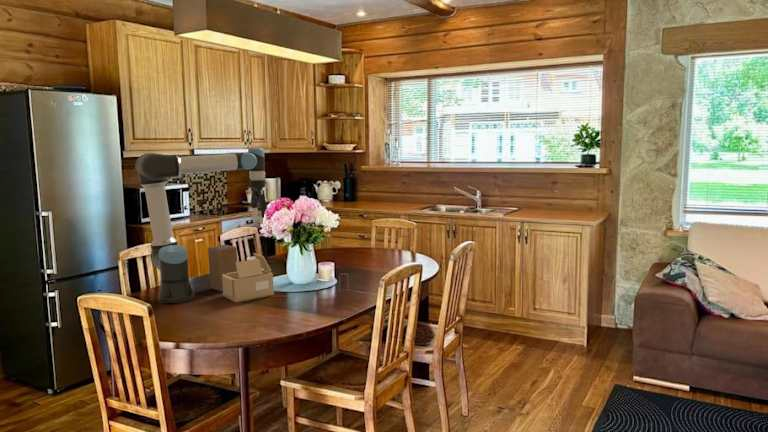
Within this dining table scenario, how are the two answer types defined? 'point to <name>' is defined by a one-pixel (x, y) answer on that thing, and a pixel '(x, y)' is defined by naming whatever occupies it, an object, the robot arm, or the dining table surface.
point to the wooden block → (221, 264)
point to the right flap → (262, 262)
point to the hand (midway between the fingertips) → (259, 222)
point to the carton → (247, 286)
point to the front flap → (249, 268)
